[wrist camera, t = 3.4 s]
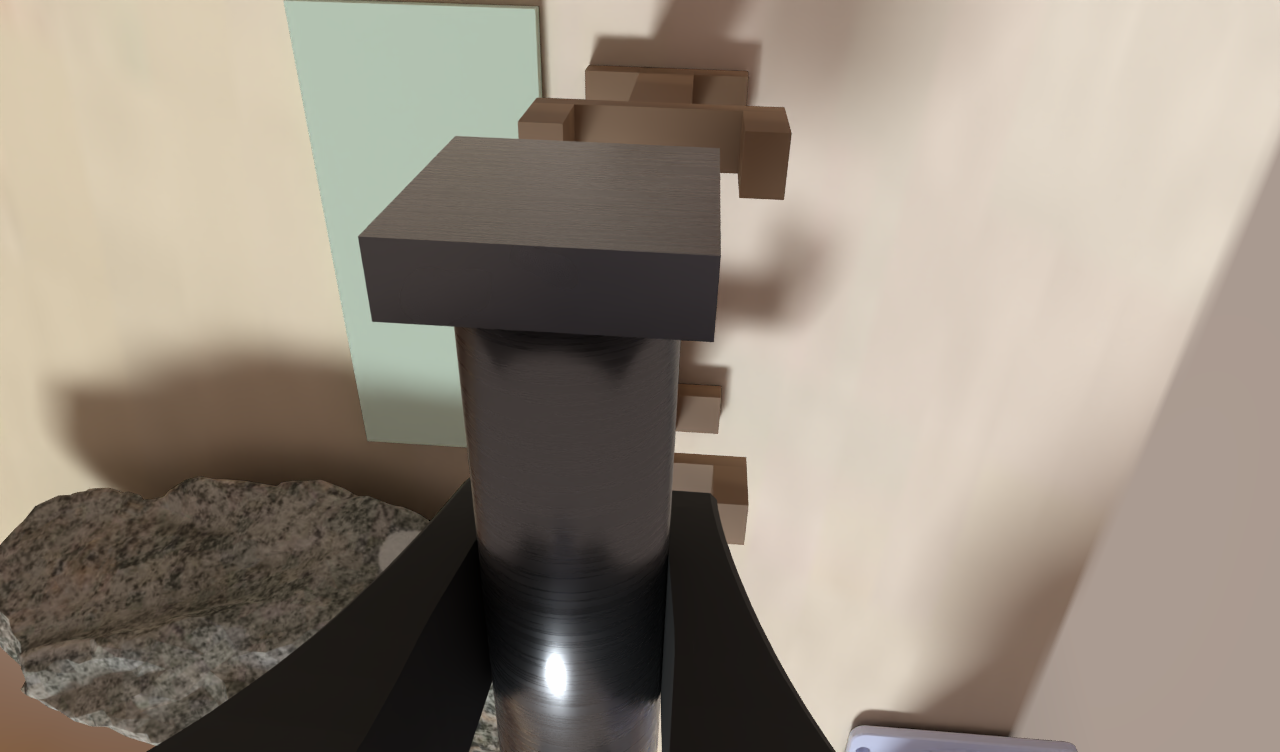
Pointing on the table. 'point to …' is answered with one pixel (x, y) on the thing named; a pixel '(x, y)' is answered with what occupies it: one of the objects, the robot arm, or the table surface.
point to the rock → (186, 594)
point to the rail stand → (749, 146)
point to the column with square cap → (563, 402)
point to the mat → (403, 164)
